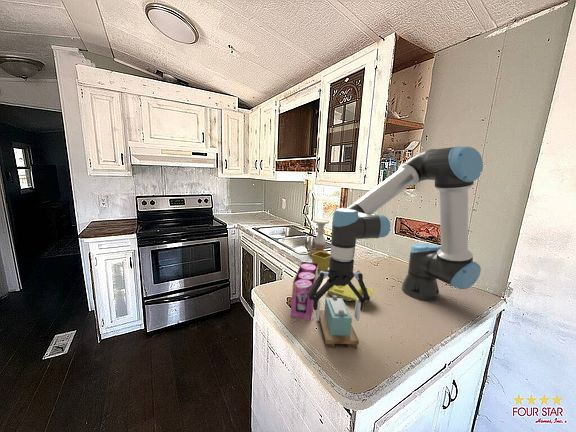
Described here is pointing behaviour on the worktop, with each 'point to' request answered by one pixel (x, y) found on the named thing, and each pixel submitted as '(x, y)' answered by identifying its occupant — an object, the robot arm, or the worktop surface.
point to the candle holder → (319, 237)
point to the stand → (337, 339)
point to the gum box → (303, 290)
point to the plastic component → (348, 292)
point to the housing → (337, 316)
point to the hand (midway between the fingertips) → (337, 318)
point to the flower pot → (321, 260)
